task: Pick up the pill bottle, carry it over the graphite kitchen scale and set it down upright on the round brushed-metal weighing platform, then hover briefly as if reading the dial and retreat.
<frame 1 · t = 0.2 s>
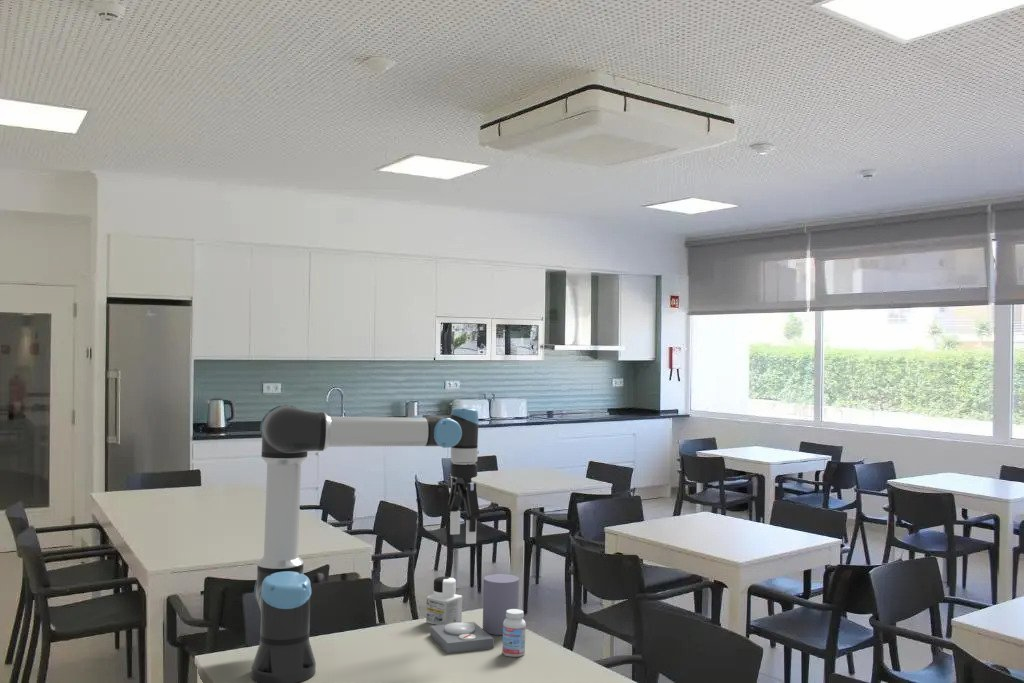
hand: (462, 538, 238), 28 cm above the table, fingers open, 13 cm apart
scale: (461, 641, 234), on the table
container 2: (500, 631, 245), on the table
container: (443, 622, 252), on the table
pill bottle: (513, 654, 225), on the table
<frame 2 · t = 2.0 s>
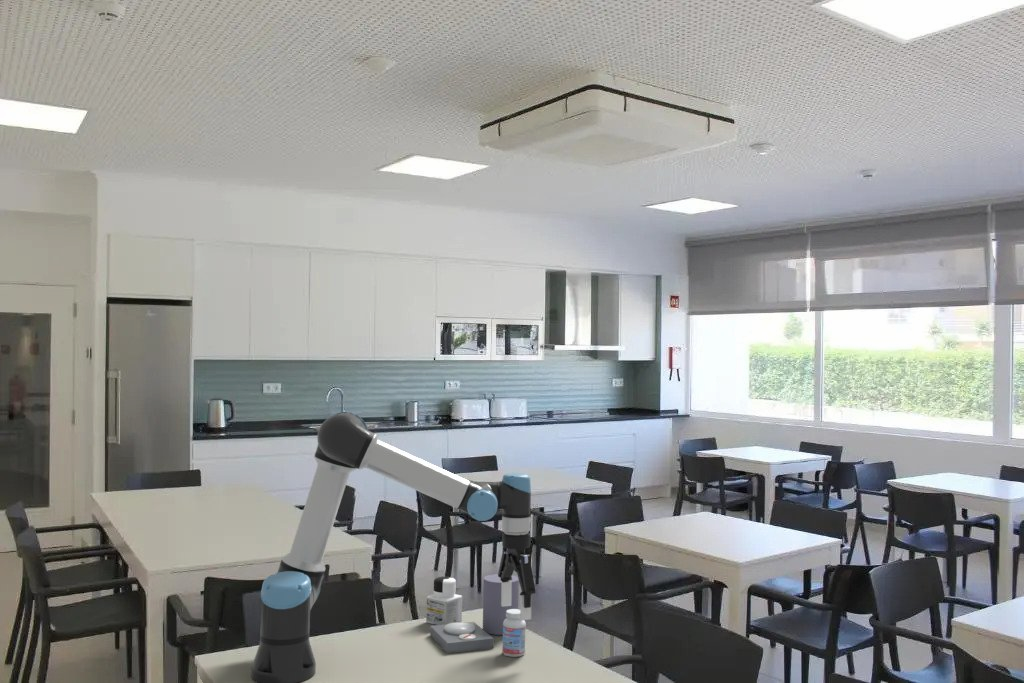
hand: (515, 612, 226), 11 cm above the table, fingers open, 13 cm apart
nothing on the table moved.
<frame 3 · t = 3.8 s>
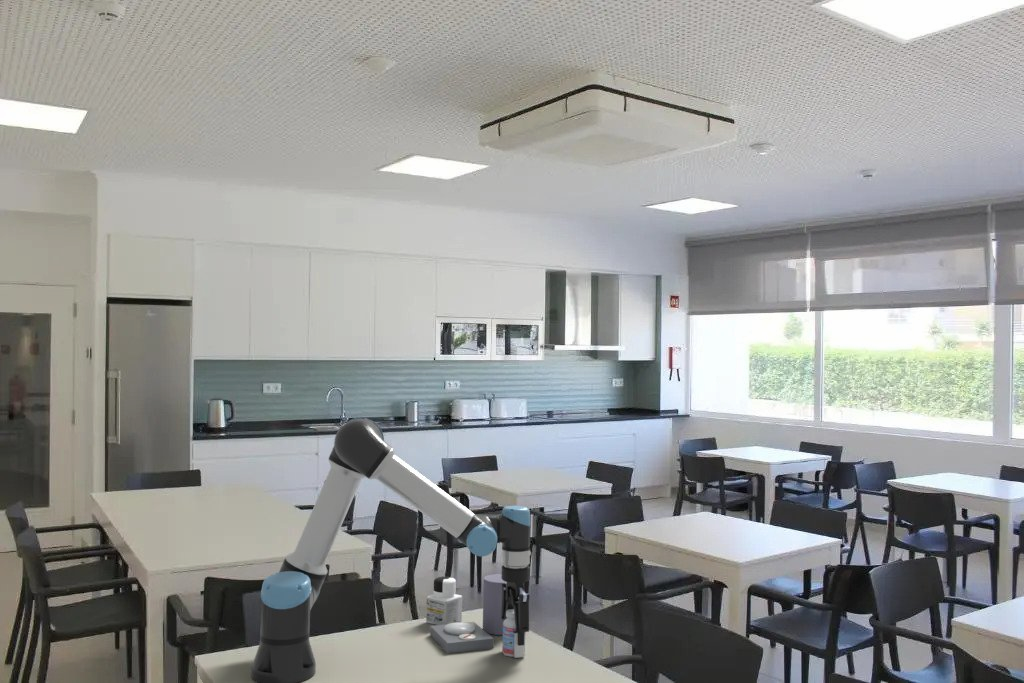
hand: (514, 652, 225), 0 cm above the table, fingers closed on pill bottle, 6 cm apart
pill bottle: (513, 654, 225), on the table, touching gripper
everything else where it was.
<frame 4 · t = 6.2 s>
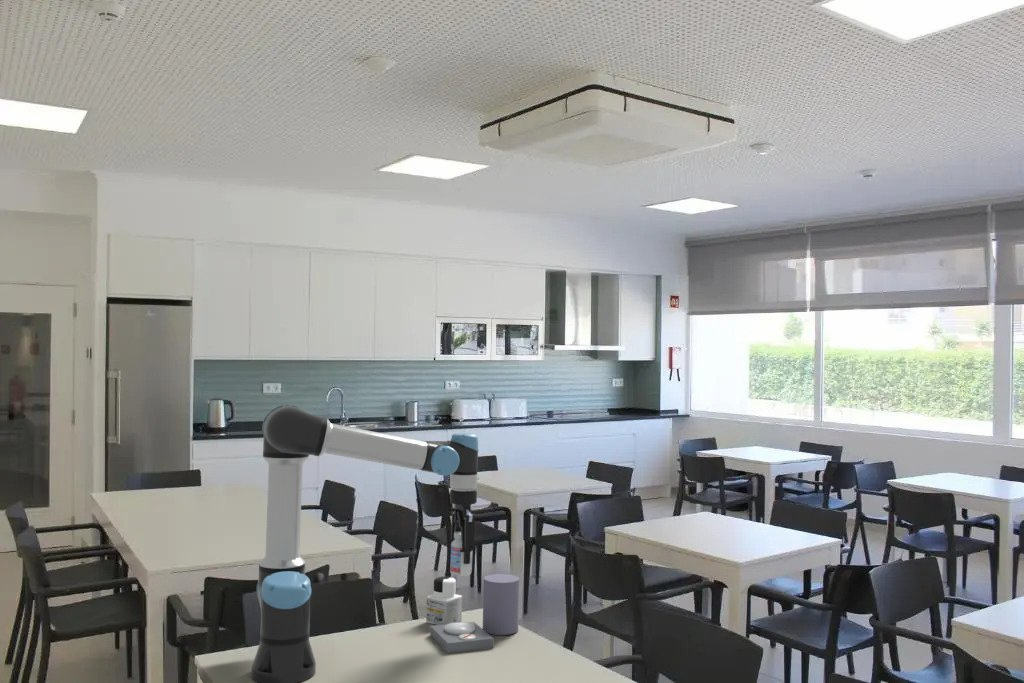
hand: (461, 572, 236), 19 cm above the table, fingers closed on pill bottle, 6 cm apart
pill bottle: (460, 574, 236), point 18 cm above the table, touching gripper
everything else where it was.
when the fingers open (5 cm above the table, at t = 8.7 s): pill bottle stays where it is, resting on scale.
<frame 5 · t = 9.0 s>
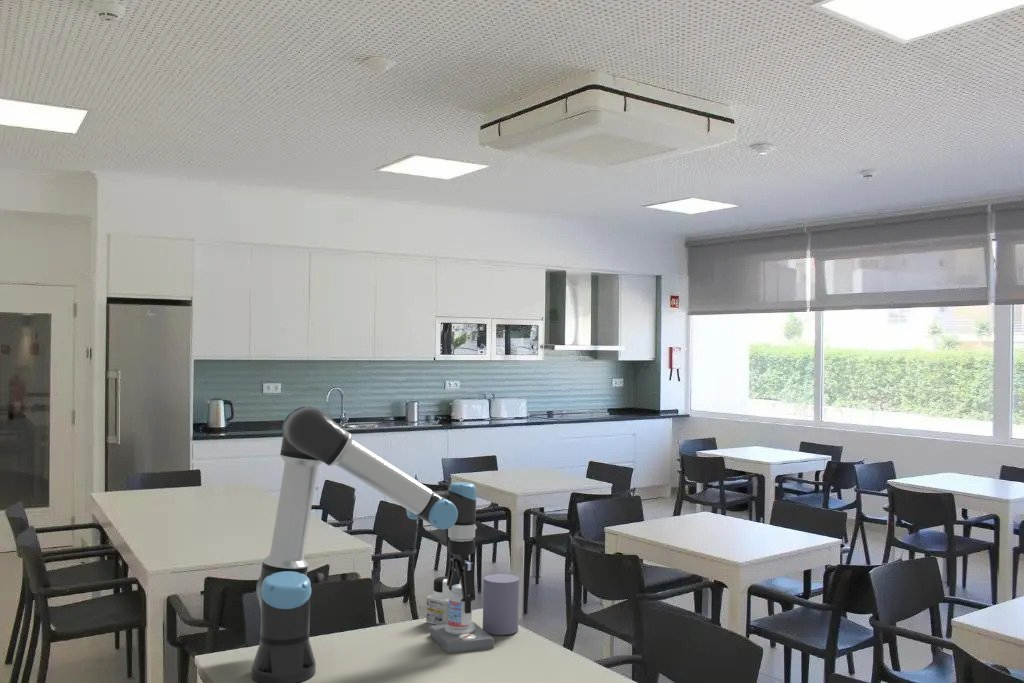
hand: (459, 618, 236), 6 cm above the table, fingers open, 10 cm apart
pill bottle: (459, 627, 236), point 3 cm above the table, touching scale
everything else where it was.
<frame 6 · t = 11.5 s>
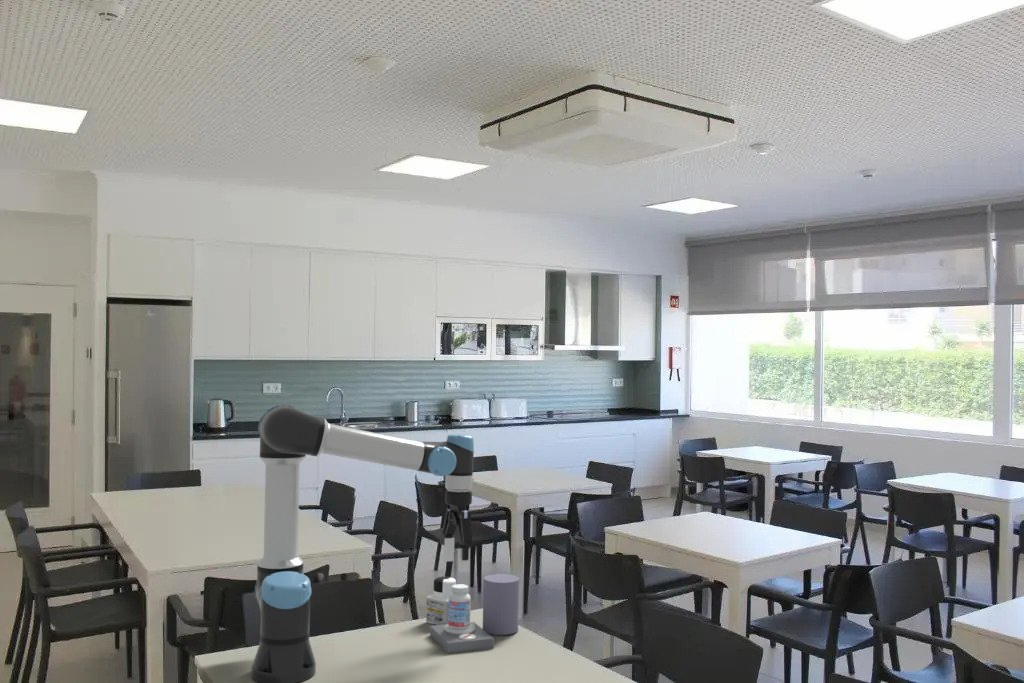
hand: (455, 566, 237), 20 cm above the table, fingers open, 13 cm apart
nothing on the table moved.
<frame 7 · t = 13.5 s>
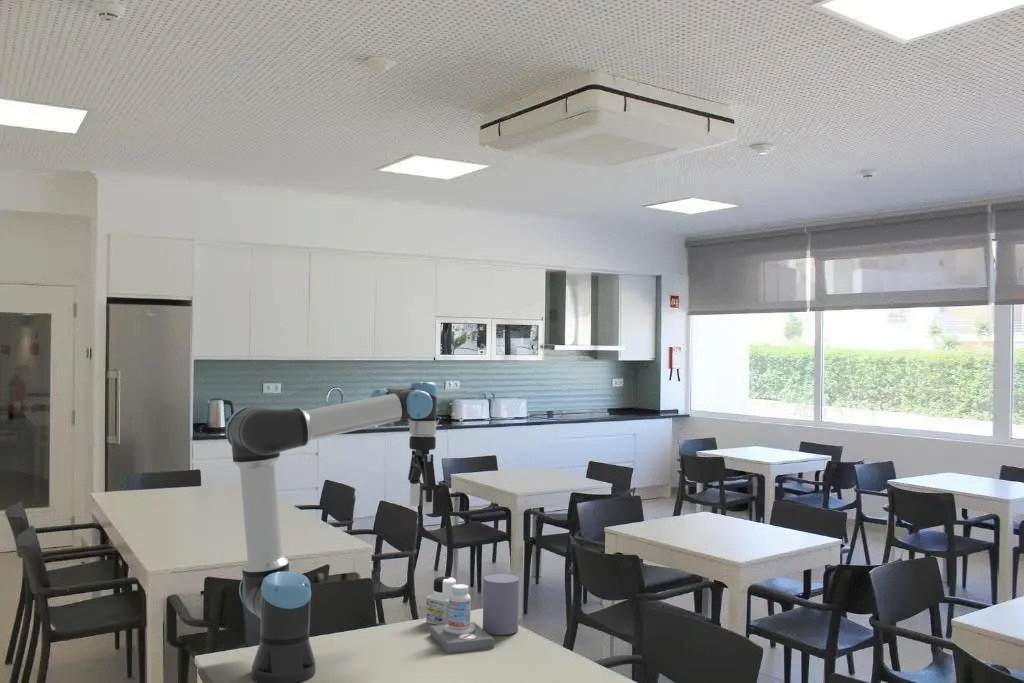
hand: (420, 509, 243), 35 cm above the table, fingers open, 13 cm apart
nothing on the table moved.
at the end: pill bottle inside the target area on the scale (0.2 cm from its centre), point 3.4 cm above the scale's base; pill bottle tilted 0°; the gripper is holding nothing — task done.
